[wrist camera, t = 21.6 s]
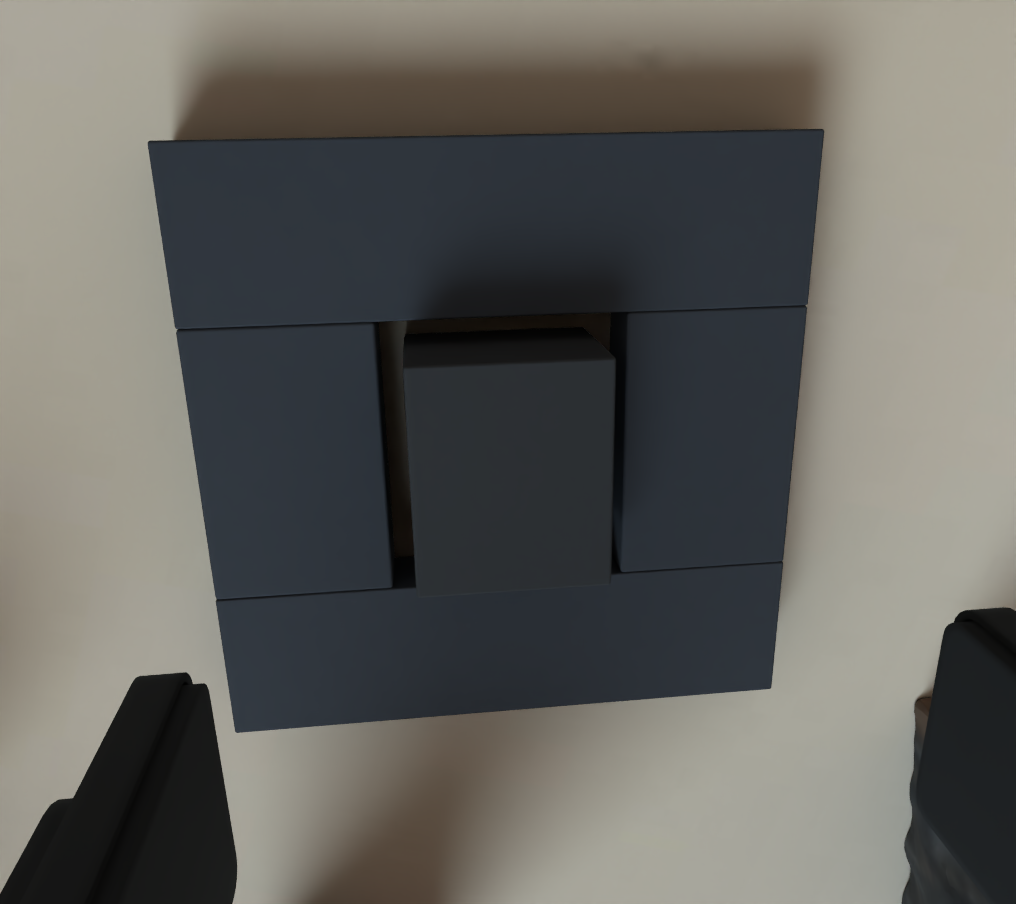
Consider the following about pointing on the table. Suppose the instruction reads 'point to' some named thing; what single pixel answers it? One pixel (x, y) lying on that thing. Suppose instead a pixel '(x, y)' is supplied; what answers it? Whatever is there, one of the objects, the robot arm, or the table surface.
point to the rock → (932, 847)
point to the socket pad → (477, 294)
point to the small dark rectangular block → (510, 459)
